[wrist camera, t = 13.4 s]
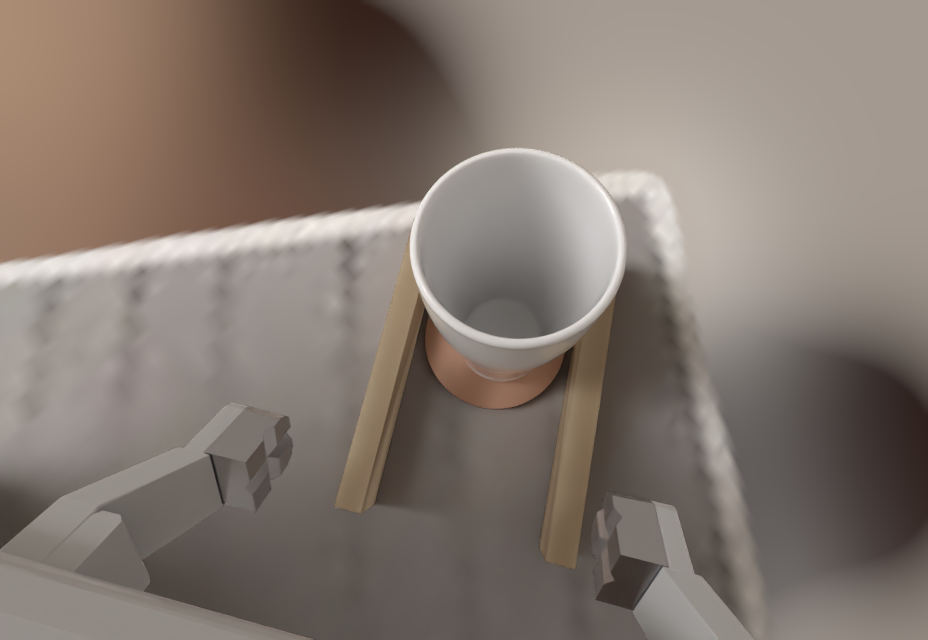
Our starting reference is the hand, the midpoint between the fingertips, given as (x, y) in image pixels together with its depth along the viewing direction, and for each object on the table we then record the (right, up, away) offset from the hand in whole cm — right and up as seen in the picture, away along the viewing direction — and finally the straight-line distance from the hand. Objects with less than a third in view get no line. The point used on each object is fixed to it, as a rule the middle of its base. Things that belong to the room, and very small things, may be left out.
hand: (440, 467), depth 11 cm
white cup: (+3, +2, +17) cm, 17 cm away
